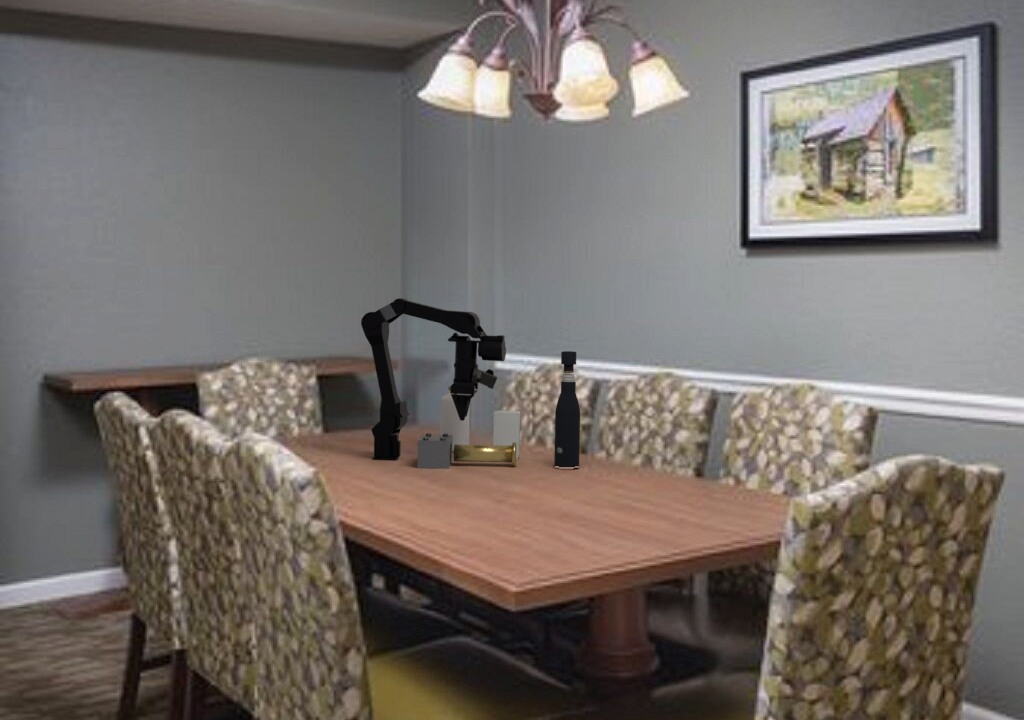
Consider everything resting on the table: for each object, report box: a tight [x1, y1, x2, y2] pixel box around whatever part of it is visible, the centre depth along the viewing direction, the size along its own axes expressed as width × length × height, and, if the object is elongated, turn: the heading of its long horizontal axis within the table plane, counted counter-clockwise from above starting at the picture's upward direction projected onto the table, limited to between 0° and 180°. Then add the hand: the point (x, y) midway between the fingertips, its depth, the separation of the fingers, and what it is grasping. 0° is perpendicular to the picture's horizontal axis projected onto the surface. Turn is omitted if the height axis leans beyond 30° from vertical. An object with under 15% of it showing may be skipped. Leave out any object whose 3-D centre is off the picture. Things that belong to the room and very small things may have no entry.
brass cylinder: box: [453, 442, 517, 466], centre depth 292 cm, size 16×6×6 cm, turn 89°
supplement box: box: [492, 410, 521, 458], centre depth 308 cm, size 7×7×13 cm
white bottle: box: [439, 386, 471, 450], centre depth 321 cm, size 8×8×18 cm
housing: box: [417, 432, 453, 469], centre depth 293 cm, size 8×12×8 cm, turn 179°
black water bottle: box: [553, 350, 581, 467], centre depth 290 cm, size 6×6×30 cm
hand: (463, 418), depth 298 cm, fingers open, 9 cm apart
